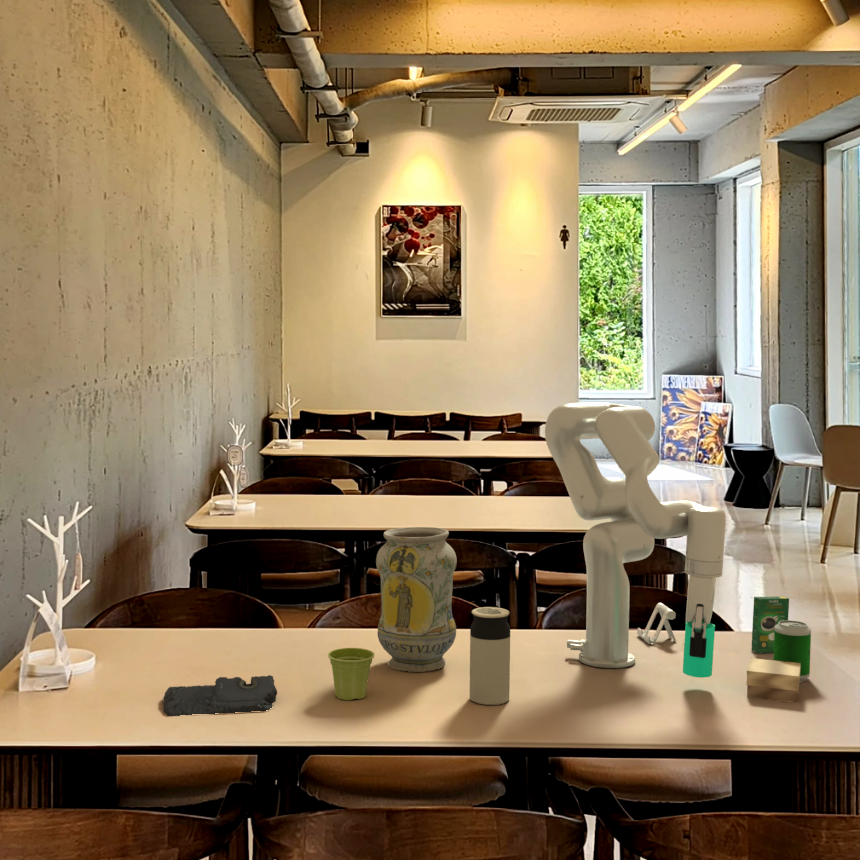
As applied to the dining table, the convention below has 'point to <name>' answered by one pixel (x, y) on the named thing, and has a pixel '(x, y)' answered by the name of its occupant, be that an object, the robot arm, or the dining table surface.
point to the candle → (697, 664)
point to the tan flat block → (772, 693)
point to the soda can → (793, 645)
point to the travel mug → (490, 656)
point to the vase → (416, 597)
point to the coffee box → (767, 621)
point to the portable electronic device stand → (665, 615)
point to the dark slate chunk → (221, 697)
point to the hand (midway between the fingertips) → (698, 652)
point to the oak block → (773, 674)
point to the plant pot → (350, 672)
